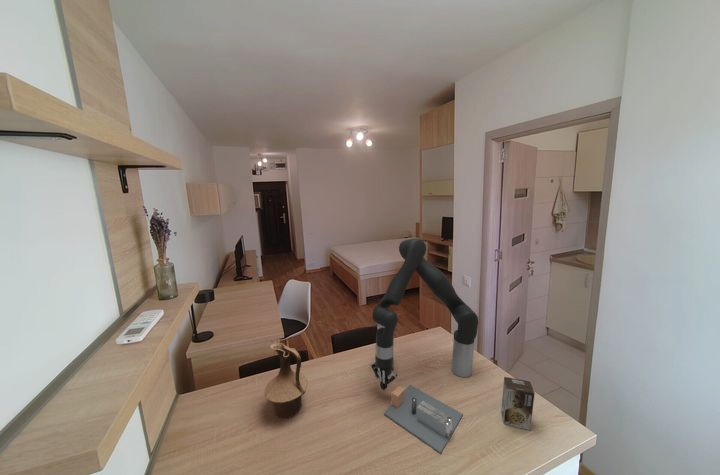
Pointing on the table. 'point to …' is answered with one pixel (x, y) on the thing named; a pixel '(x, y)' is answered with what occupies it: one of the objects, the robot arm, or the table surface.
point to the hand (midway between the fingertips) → (383, 388)
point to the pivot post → (414, 405)
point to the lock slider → (398, 396)
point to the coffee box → (517, 403)
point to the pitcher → (286, 384)
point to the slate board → (414, 426)
